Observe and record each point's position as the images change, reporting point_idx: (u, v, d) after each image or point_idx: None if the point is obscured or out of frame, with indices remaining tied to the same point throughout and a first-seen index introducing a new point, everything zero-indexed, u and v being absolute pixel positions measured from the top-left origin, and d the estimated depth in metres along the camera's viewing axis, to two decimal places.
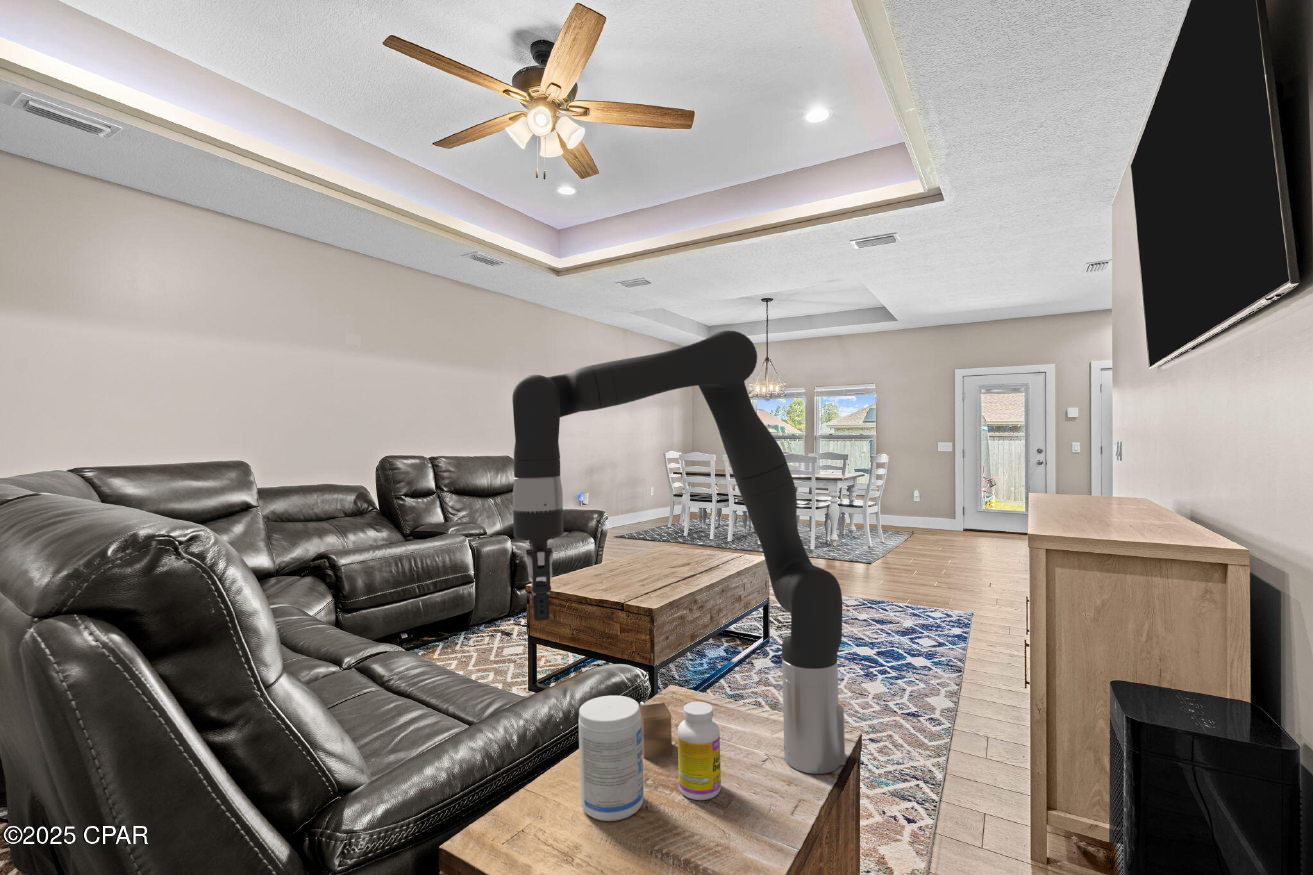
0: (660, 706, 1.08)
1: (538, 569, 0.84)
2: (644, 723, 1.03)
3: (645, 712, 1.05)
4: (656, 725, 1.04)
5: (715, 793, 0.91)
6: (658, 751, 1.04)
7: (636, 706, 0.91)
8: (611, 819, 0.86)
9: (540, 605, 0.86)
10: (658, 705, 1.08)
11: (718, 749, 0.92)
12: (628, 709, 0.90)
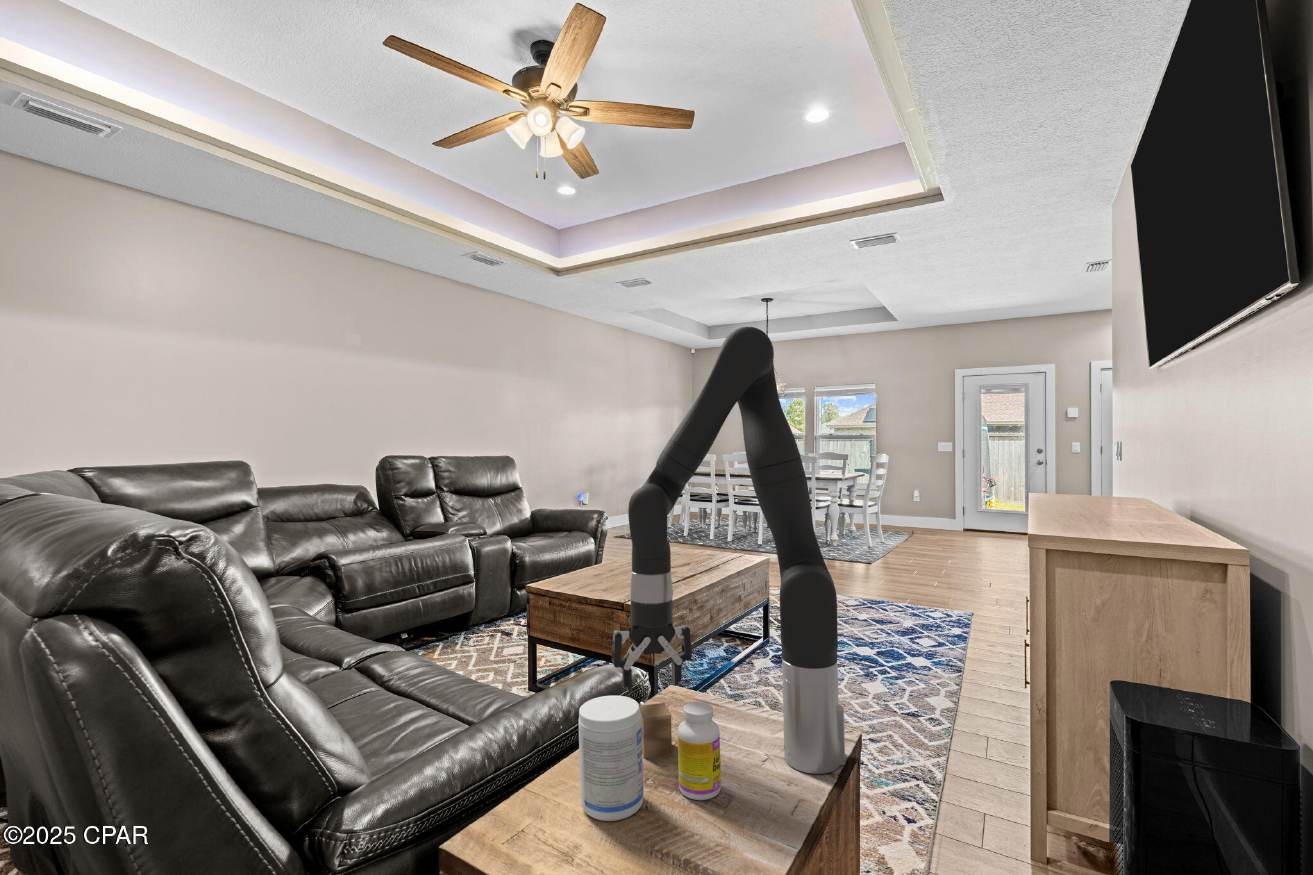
0: (660, 706, 1.08)
1: None
2: (644, 723, 1.03)
3: (645, 712, 1.05)
4: (656, 725, 1.04)
5: (715, 793, 0.91)
6: (658, 751, 1.04)
7: (636, 706, 0.91)
8: (611, 819, 0.86)
9: None
10: (658, 705, 1.08)
11: (718, 749, 0.92)
12: (628, 709, 0.90)
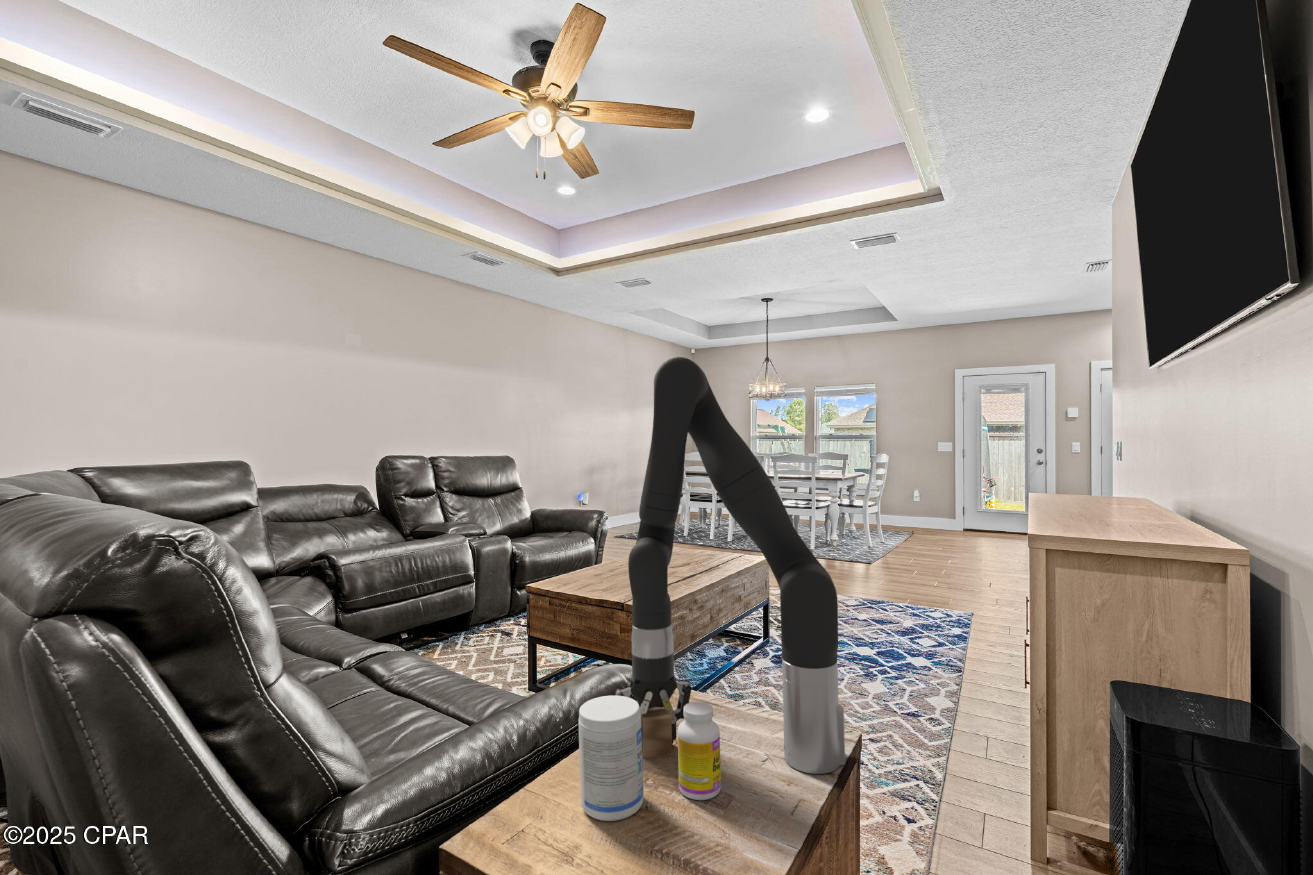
0: None
1: None
2: (644, 723, 1.03)
3: None
4: (656, 725, 1.04)
5: (715, 793, 0.91)
6: (659, 750, 1.04)
7: (636, 706, 0.91)
8: (611, 819, 0.86)
9: None
10: None
11: (718, 749, 0.92)
12: (628, 709, 0.90)
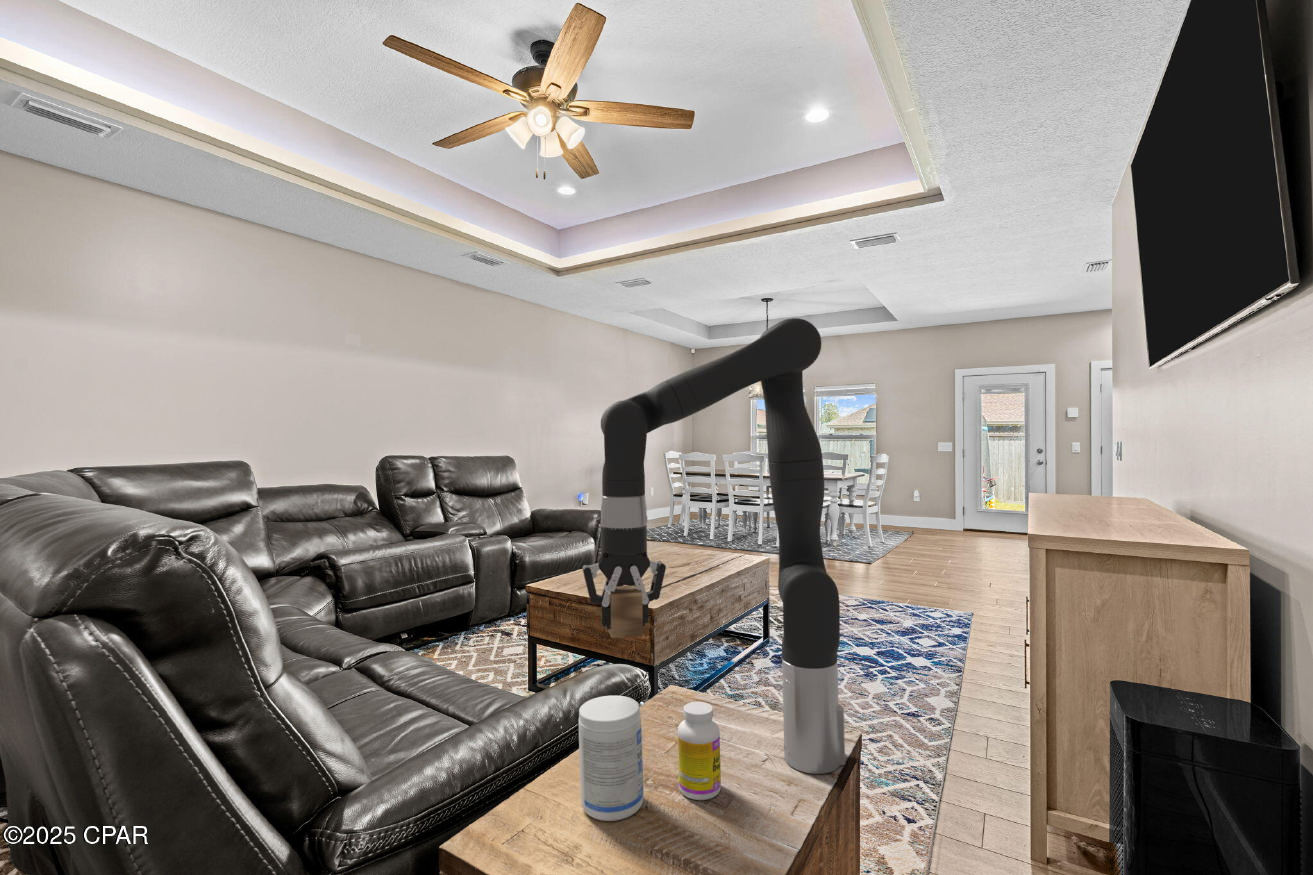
0: (632, 587, 0.99)
1: None
2: (612, 600, 0.94)
3: None
4: (625, 603, 0.95)
5: (715, 793, 0.91)
6: (628, 631, 0.95)
7: (636, 706, 0.91)
8: (611, 819, 0.86)
9: (647, 611, 0.98)
10: (630, 586, 0.99)
11: (718, 749, 0.92)
12: (628, 709, 0.90)
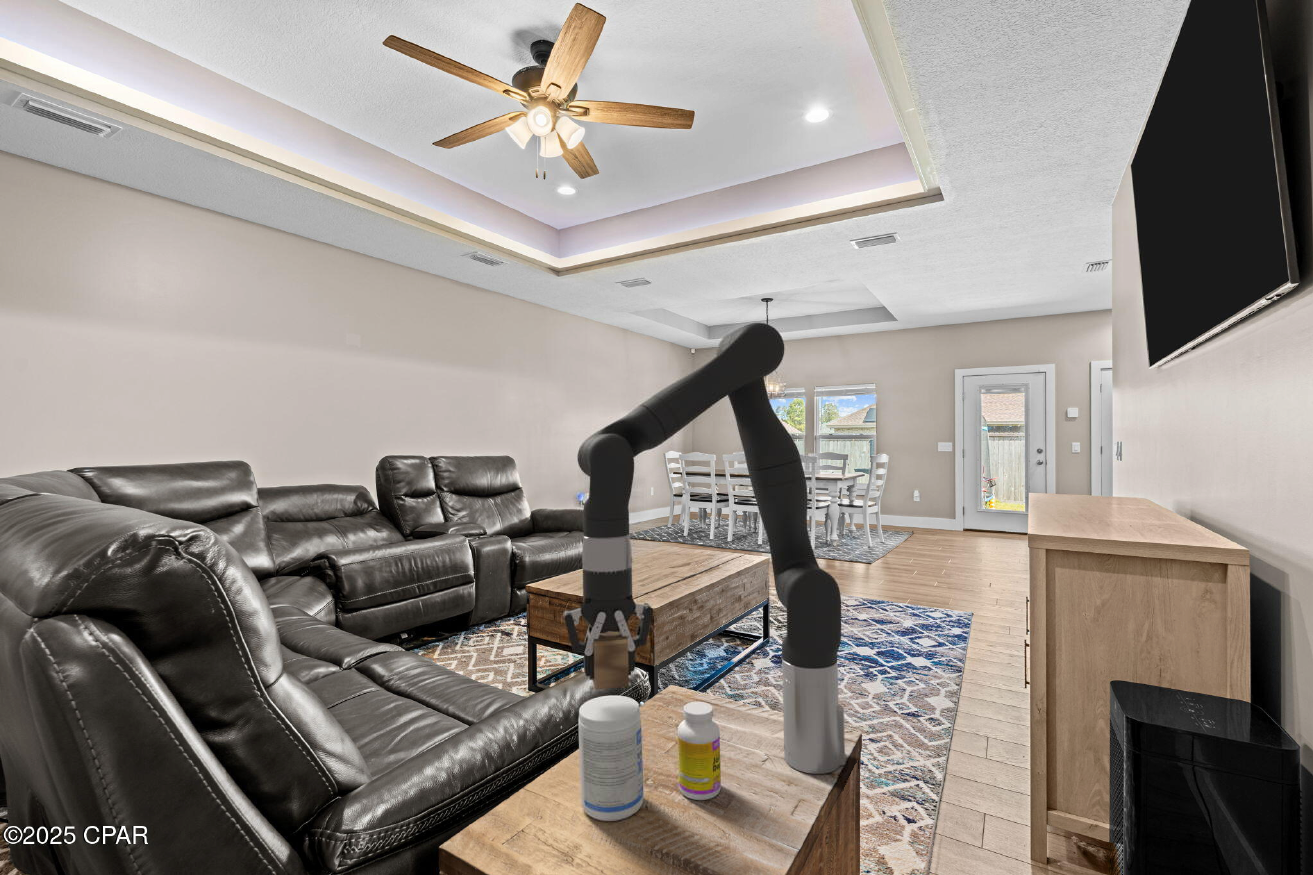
0: (617, 632, 0.92)
1: None
2: (595, 648, 0.88)
3: (598, 637, 0.90)
4: (610, 651, 0.88)
5: (715, 793, 0.91)
6: (613, 681, 0.88)
7: (635, 706, 0.91)
8: (611, 819, 0.86)
9: None
10: None
11: (718, 749, 0.92)
12: (628, 709, 0.90)
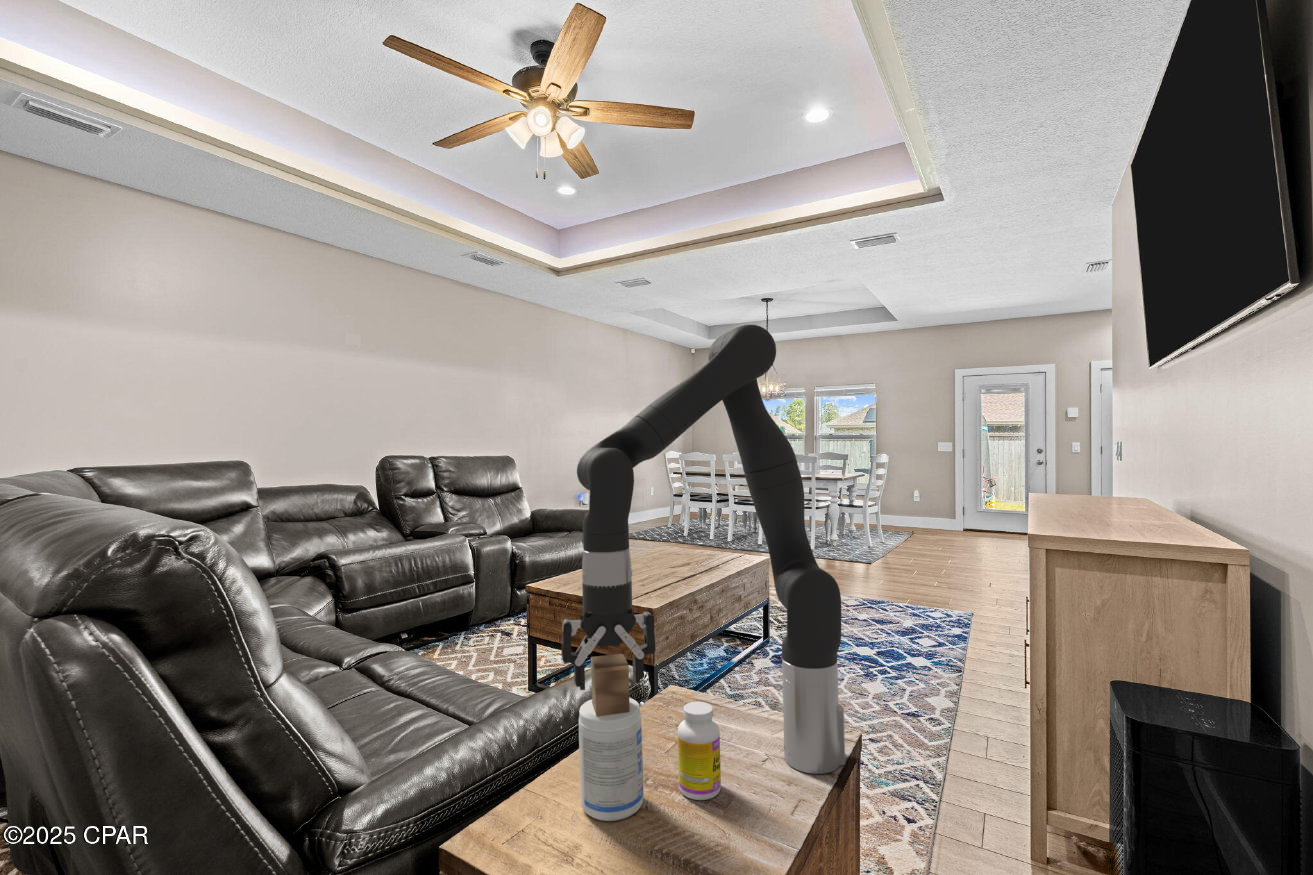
0: (617, 657, 0.92)
1: None
2: (596, 674, 0.88)
3: (599, 663, 0.90)
4: (611, 677, 0.88)
5: (715, 793, 0.91)
6: (613, 707, 0.88)
7: (636, 706, 0.91)
8: (611, 819, 0.86)
9: None
10: (615, 656, 0.93)
11: (718, 749, 0.92)
12: None
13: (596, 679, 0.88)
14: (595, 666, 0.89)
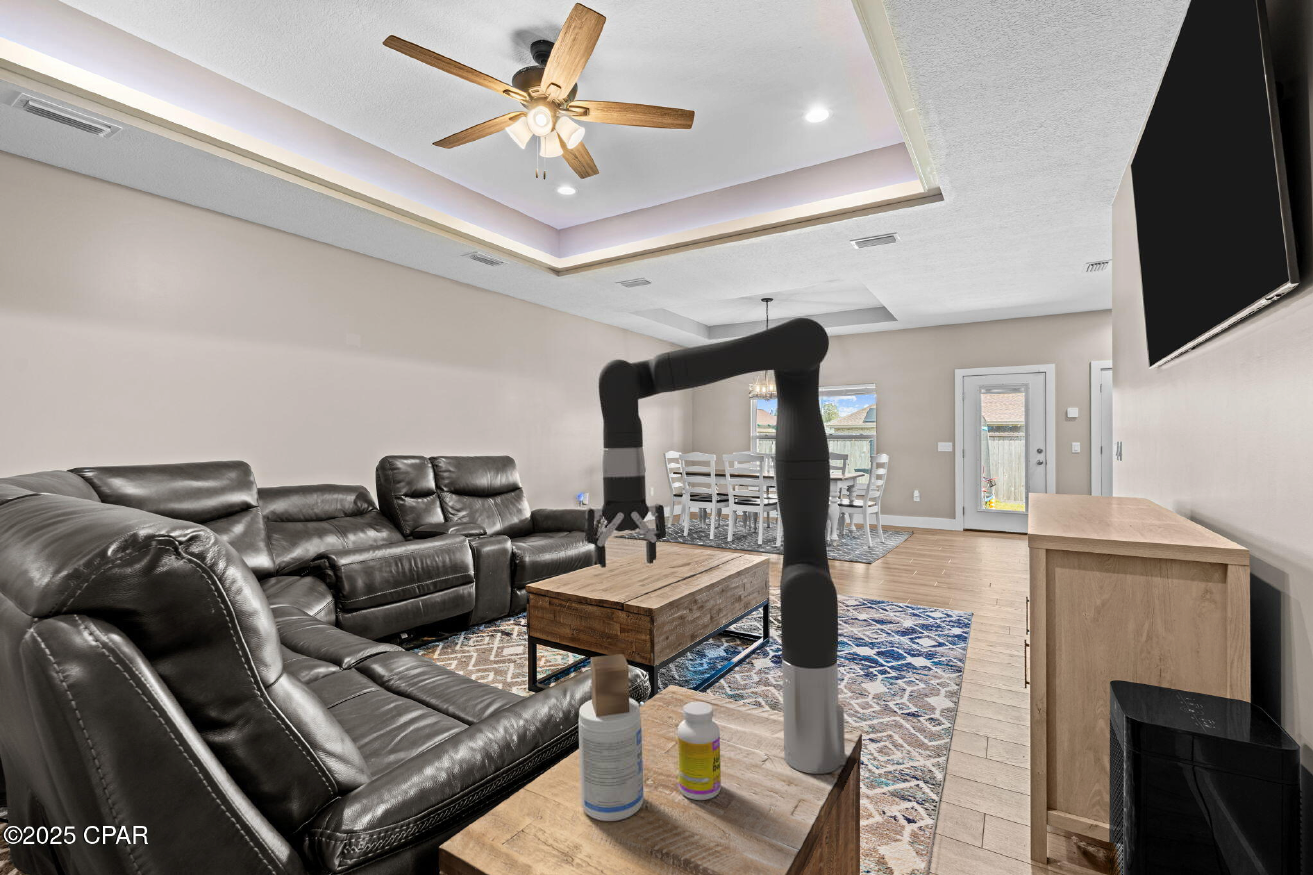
0: (617, 657, 0.92)
1: None
2: (596, 675, 0.88)
3: (598, 663, 0.90)
4: (610, 677, 0.88)
5: (715, 793, 0.91)
6: (613, 707, 0.88)
7: (636, 706, 0.91)
8: (611, 819, 0.86)
9: None
10: (615, 656, 0.93)
11: (718, 749, 0.92)
12: None
13: (596, 679, 0.88)
14: (595, 666, 0.89)
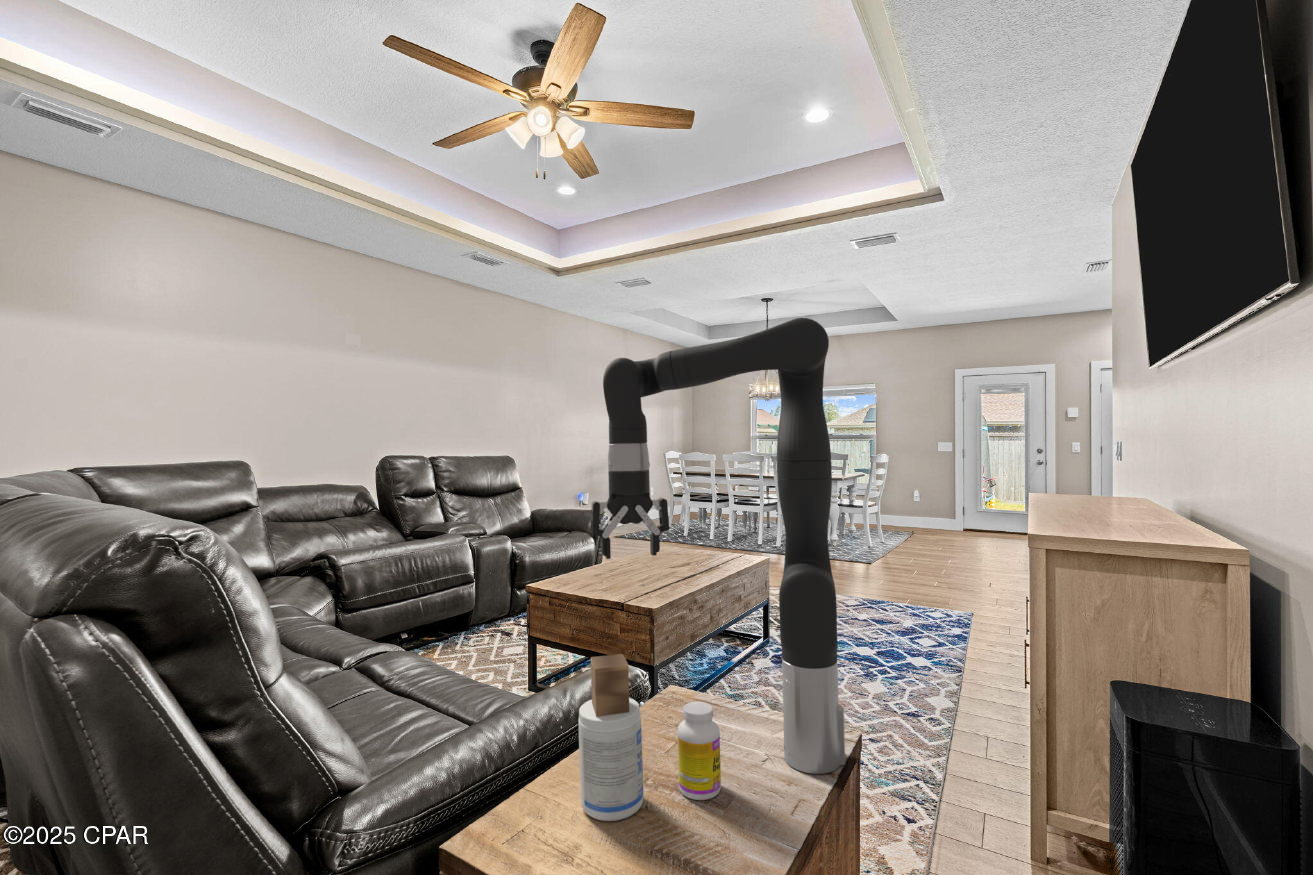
0: (617, 657, 0.92)
1: None
2: (596, 675, 0.88)
3: (598, 663, 0.90)
4: (610, 677, 0.88)
5: (715, 793, 0.91)
6: (613, 707, 0.88)
7: (636, 706, 0.91)
8: (611, 819, 0.86)
9: None
10: (615, 656, 0.93)
11: (718, 749, 0.92)
12: None
13: (596, 679, 0.88)
14: (595, 666, 0.89)
